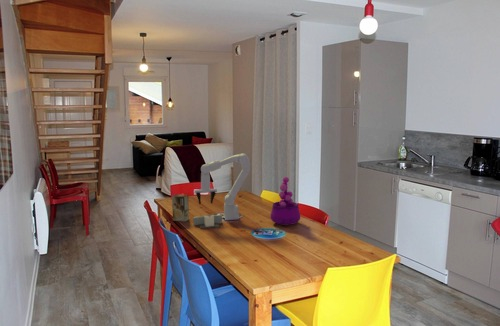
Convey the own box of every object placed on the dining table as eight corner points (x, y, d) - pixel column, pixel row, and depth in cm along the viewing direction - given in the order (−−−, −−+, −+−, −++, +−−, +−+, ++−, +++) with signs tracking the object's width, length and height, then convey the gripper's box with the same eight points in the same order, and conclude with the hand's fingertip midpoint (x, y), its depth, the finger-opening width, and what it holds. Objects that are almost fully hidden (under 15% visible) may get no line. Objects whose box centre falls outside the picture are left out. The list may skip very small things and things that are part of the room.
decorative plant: (298, 228, 252) (299, 180, 248) (268, 227, 256) (268, 178, 251) (301, 220, 270) (302, 174, 266) (272, 218, 274) (273, 173, 269)
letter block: (212, 223, 260) (212, 214, 259) (214, 226, 256) (213, 216, 255) (204, 224, 259) (204, 214, 258) (206, 226, 254) (205, 216, 253)
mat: (217, 223, 263) (217, 222, 262) (220, 227, 255) (220, 226, 255) (198, 225, 259) (198, 224, 259) (200, 228, 252) (200, 228, 251)
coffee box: (189, 219, 272) (189, 195, 270) (185, 221, 266) (184, 197, 264) (176, 217, 275) (176, 194, 273) (172, 220, 269) (171, 196, 267)
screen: (221, 222, 265) (221, 214, 264) (222, 223, 264) (221, 215, 263) (193, 224, 260) (193, 217, 259) (193, 225, 259) (193, 217, 258)
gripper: (195, 184, 263) (195, 205, 265) (217, 183, 267) (217, 204, 269) (193, 182, 270) (193, 203, 272) (215, 181, 274) (215, 201, 276)
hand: (205, 203), depth 271 cm, fingers open, 7 cm apart
